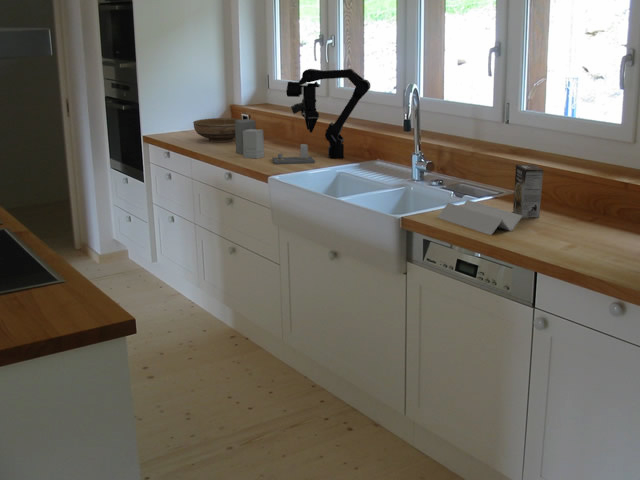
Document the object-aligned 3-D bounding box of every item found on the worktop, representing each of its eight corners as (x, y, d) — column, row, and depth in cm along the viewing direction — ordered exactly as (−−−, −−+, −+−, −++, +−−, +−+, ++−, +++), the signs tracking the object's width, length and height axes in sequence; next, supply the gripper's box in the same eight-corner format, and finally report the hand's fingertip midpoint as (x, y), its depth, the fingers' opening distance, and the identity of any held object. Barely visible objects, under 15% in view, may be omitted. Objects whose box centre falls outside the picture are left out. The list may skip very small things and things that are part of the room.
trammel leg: (306, 157, 358) (306, 144, 356) (307, 158, 355) (307, 145, 353) (300, 157, 358) (300, 144, 356) (301, 158, 355) (301, 145, 353)
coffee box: (512, 211, 265) (515, 164, 261) (530, 210, 266) (534, 163, 261) (520, 218, 257) (524, 169, 252) (540, 217, 257) (543, 169, 253)
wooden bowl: (259, 143, 406) (258, 124, 403) (206, 147, 394) (205, 127, 391) (234, 134, 438) (234, 116, 435) (185, 137, 426) (184, 119, 423)
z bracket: (500, 246, 241) (490, 235, 237) (446, 228, 261) (437, 217, 258) (522, 216, 242) (513, 203, 239) (467, 200, 263) (458, 188, 260)
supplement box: (264, 156, 369) (264, 129, 365) (256, 158, 362) (256, 131, 359) (250, 155, 372) (250, 128, 368) (243, 157, 365) (242, 130, 362)
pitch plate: (311, 158, 363) (311, 151, 362) (314, 163, 352) (314, 155, 351) (272, 159, 361) (272, 151, 360) (274, 164, 349) (274, 156, 348)
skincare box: (250, 151, 383) (249, 118, 379) (257, 153, 377) (256, 120, 373) (234, 152, 379) (233, 119, 374) (241, 154, 373) (240, 121, 369)
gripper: (289, 95, 368) (290, 128, 372) (294, 99, 350) (294, 134, 354) (313, 94, 369) (313, 128, 374) (318, 99, 352) (318, 133, 356)
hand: (309, 131), depth 364 cm, fingers open, 9 cm apart
